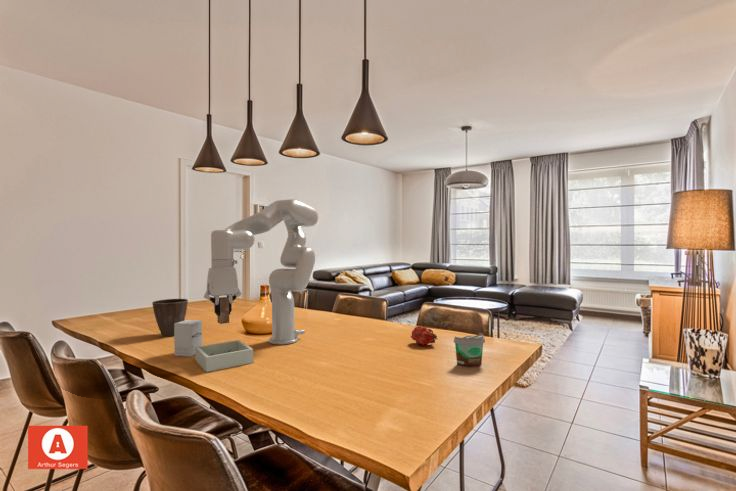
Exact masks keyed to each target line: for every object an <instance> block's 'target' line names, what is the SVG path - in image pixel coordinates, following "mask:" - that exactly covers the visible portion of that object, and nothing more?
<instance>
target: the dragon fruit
mask: <svg viewBox="0 0 736 491" xmlns="http://www.w3.org/2000/svg"><path fill="white" fill-rule="evenodd" d="M410 338H411V339H412V340H413V341H415V342H416V345H423V346H424V347H431V346H432V345H430V344H435V343H436V340H438V336H437V334H435V333H434V331H433V330H432V329H431V328H428V327H427V326H425V325H423V326H422V325H418V326H415V327H414V328H413V330H412V332H411V336H410Z"/></svg>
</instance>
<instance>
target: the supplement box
mask: <svg viewBox="0 0 736 491" xmlns="http://www.w3.org/2000/svg"><path fill="white" fill-rule="evenodd" d="M173 337H174V338H173V339H174V356H175V357H188V358H189V357H192V356H195V347H198V346H203V320H201V319H185V320H184V321H181V322H178V323H175V324H174V336H173Z"/></svg>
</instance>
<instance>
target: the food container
mask: <svg viewBox="0 0 736 491" xmlns="http://www.w3.org/2000/svg"><path fill="white" fill-rule="evenodd" d="M453 338H454V339H453V343H454V344H455V345H454V346H455V356H456V365H458V366H461V367H467V368H476V367H480V366H481V365H482V360H483V352H484V351H483V349H484V344H485V343H486V337H485V336H484V334H483V333H482V332H478V334H477V335H466V336H463V337H460V336H459V337H458V336H454V337H453Z"/></svg>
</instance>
